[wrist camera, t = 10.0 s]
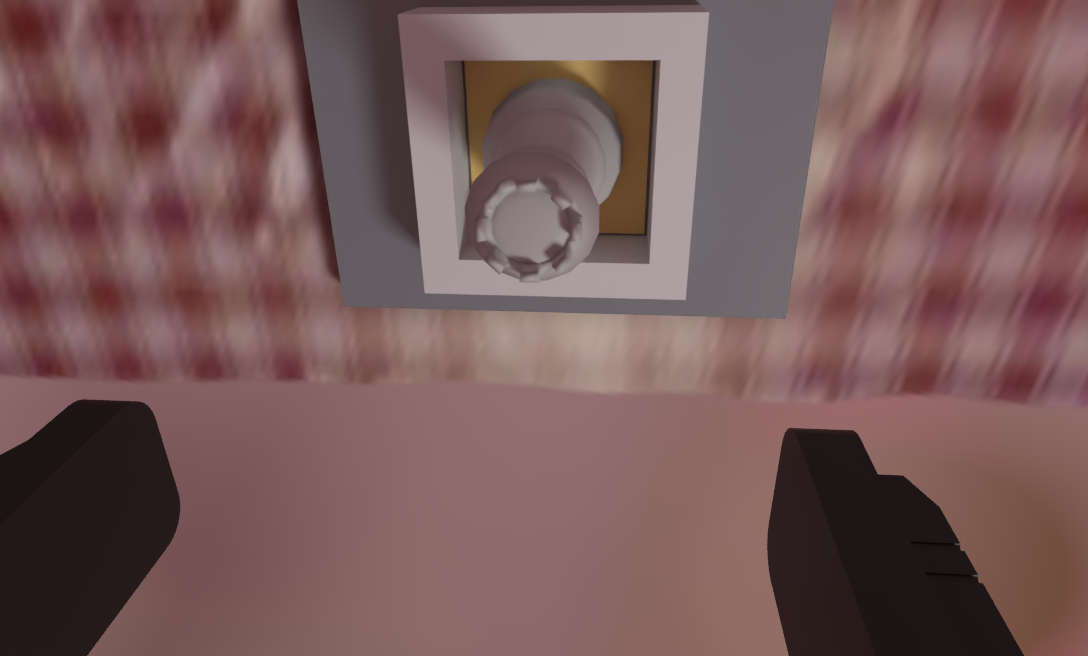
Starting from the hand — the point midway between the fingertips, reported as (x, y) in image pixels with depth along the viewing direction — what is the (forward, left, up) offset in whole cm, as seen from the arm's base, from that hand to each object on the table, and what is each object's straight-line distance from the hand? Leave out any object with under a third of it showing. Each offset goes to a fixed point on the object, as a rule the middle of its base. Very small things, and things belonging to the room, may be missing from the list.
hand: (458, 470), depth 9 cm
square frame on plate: (0, 0, -18) cm, 18 cm away
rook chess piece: (0, 0, -17) cm, 17 cm away
